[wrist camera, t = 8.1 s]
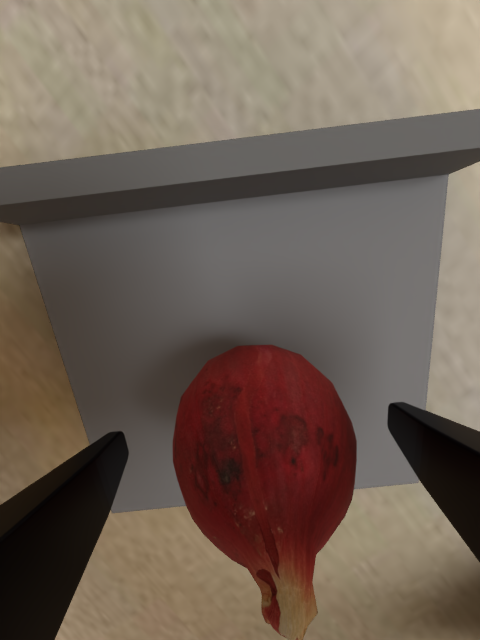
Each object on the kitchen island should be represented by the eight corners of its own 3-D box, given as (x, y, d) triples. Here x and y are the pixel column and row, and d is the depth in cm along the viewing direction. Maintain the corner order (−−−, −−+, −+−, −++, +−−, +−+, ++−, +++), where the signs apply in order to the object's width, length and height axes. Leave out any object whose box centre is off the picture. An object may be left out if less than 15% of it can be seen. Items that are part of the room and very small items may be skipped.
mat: (442, 151, 10) (532, 102, 7) (413, 476, 14) (460, 534, 11) (19, 201, 10) (-72, 176, 7) (115, 506, 14) (83, 570, 11)
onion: (170, 354, 11) (27, 595, 3) (278, 295, 10) (405, 432, 3) (231, 438, 13) (227, 732, 5) (328, 392, 12) (498, 653, 4)
